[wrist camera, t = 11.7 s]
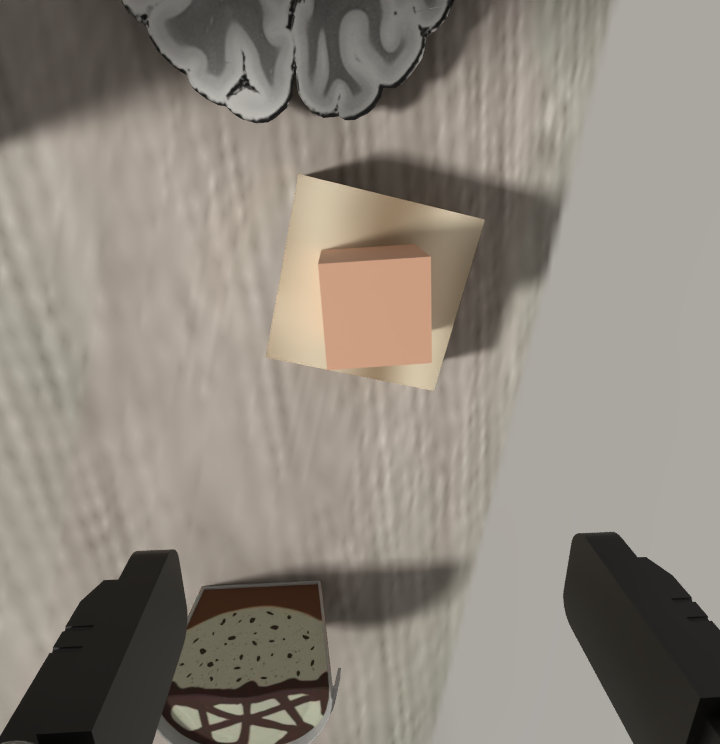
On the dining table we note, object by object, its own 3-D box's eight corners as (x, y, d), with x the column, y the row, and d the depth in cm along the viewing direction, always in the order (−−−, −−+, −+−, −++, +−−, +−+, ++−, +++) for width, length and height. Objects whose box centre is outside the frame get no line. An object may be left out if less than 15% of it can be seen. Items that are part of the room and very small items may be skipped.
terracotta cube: (328, 339, 29) (327, 370, 24) (321, 250, 27) (318, 263, 23) (416, 333, 29) (431, 362, 24) (414, 243, 27) (430, 256, 23)
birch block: (275, 333, 34) (265, 357, 29) (303, 175, 31) (298, 173, 26) (420, 363, 35) (433, 390, 30) (462, 214, 32) (485, 219, 27)
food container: (193, 646, 42) (153, 777, 33) (182, 587, 40) (136, 710, 31) (342, 638, 43) (344, 765, 33) (339, 579, 41) (341, 697, 31)
